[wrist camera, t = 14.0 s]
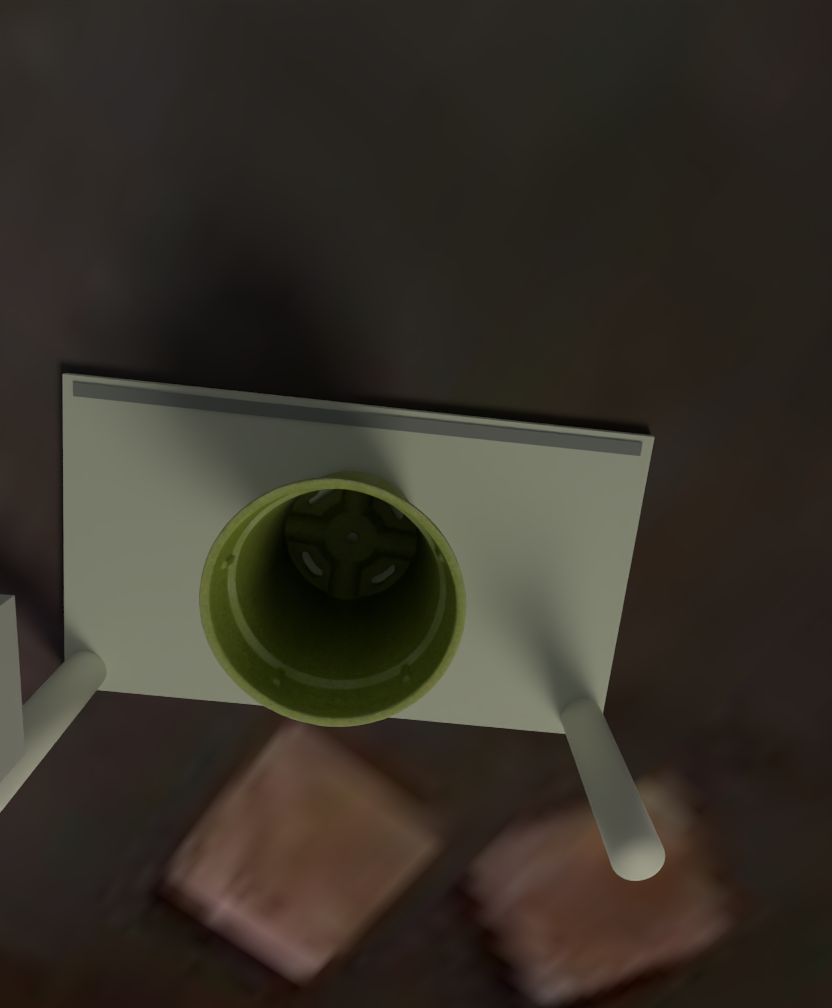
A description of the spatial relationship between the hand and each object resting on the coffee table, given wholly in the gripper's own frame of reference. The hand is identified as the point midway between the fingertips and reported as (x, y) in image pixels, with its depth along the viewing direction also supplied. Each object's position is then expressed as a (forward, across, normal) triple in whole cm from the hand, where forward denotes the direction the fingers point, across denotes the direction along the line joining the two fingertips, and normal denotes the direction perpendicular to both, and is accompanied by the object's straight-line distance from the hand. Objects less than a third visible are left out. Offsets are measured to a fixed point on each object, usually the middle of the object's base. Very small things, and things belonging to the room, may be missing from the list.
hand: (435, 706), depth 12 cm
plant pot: (+24, +4, +5) cm, 25 cm away
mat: (+24, +4, +6) cm, 25 cm away
